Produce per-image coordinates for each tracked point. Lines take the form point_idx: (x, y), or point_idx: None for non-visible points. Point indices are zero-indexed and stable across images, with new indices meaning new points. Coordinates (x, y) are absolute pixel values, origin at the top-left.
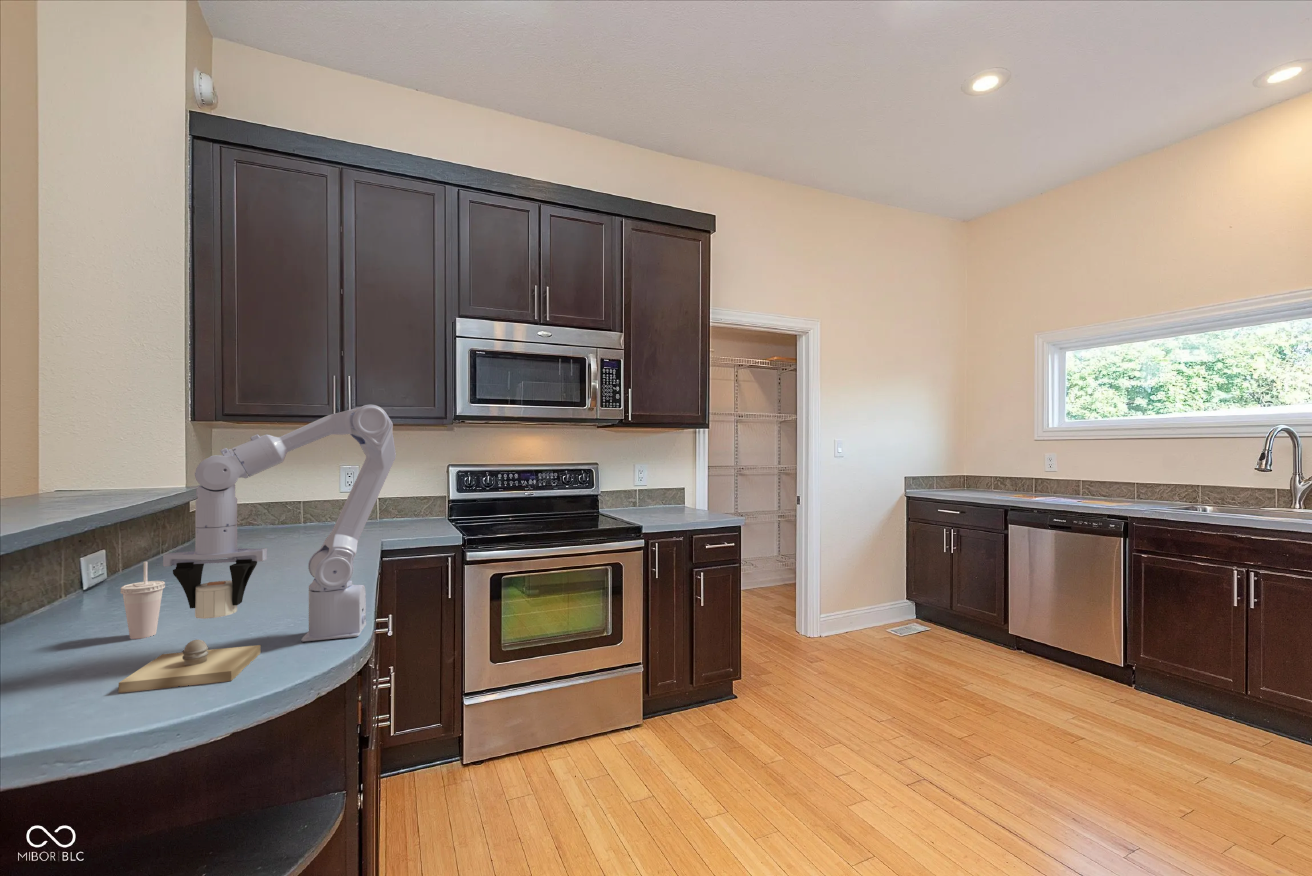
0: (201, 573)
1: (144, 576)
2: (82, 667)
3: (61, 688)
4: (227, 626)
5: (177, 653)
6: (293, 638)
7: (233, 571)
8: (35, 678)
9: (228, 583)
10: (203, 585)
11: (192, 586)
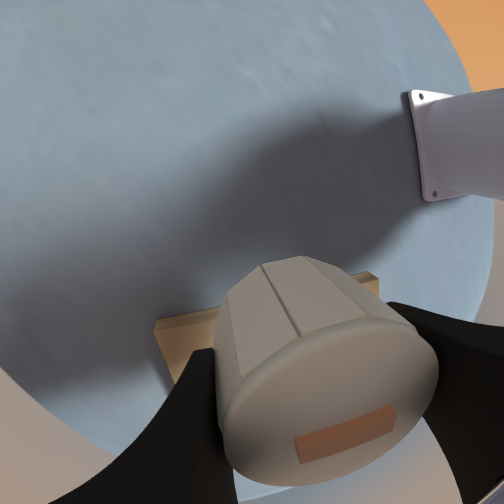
0: (200, 485)
1: None
2: (15, 314)
3: (87, 407)
4: (131, 12)
5: (191, 330)
6: (393, 155)
7: (468, 477)
8: (4, 353)
9: (405, 403)
10: (271, 456)
11: (233, 486)
